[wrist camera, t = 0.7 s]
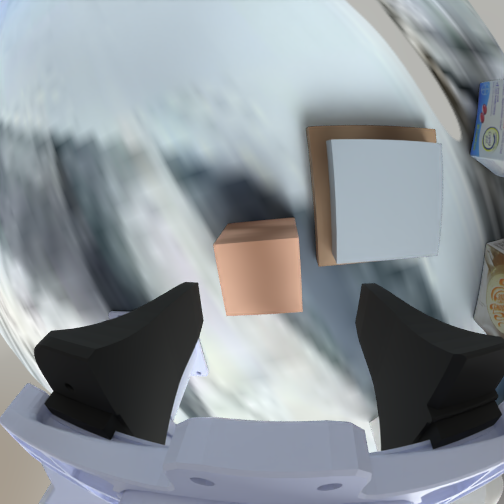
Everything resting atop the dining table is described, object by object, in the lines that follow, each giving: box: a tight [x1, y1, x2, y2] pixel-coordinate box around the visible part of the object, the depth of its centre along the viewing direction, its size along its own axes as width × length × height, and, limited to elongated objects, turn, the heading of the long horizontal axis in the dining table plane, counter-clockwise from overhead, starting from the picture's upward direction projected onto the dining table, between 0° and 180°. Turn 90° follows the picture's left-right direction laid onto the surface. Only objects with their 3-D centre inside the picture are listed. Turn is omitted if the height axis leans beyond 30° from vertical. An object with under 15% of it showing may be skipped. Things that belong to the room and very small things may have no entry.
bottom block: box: [306, 125, 436, 266], centre depth 18 cm, size 10×10×2 cm
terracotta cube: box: [213, 218, 303, 316], centre depth 19 cm, size 5×5×5 cm
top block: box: [326, 139, 443, 264], centre depth 17 cm, size 8×8×2 cm
